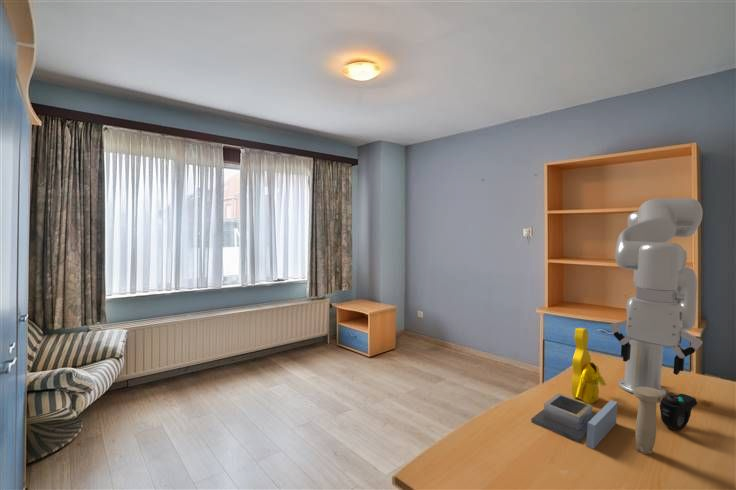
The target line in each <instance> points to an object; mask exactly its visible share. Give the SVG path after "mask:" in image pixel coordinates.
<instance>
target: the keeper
mask: <svg viewBox="0 0 736 490" xmlns="http://www.w3.org/2000/svg"><path fill="white" fill-rule="evenodd" d="M593 406H594V405H593V404H588V403H586V402H584V401H582V400H580V399H577V398H575V397H571V396H568V395H564V394H562V393H557V394H556V395H554V396H552V397H551V398H550V399H548V400H547V401H546V402H545V403H544V404H543V409H542V410H540V411H539V412H538V413H537V414H536V415H534V416H533V417H532V418H530V419H531V420H530V421H531V423H533V424H535V425H537V426H540V427H542V428H543V429H546V430H549V431H551V432H553V433H556V434H558V435H561V436H562V437H565V438H567V439H570V440H572V441H575V442H577V443H580V442H581V441H582V440H583V439H584V438H585V437H587V426H588V422H589V421H590V420H591V419H592V418H593V417H594V416H595V415H596V414H597V413H598V412H596V411H593Z"/></svg>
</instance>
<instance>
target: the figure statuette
mask: <svg viewBox="0 0 736 490" xmlns="http://www.w3.org/2000/svg"><path fill="white" fill-rule="evenodd" d="M574 343H575V351H574V354H573V357H572V371H573V373H572V380H571V395H572V398H574V399H576V400H579V401H582V402H585V403H588V404H590V405H593V404H594V403H596V402H598V400H599V393H600V392H599V391H600V389H599V385H600V386H601V387H604V386H606V385H607V383H606V381H605V380H604V378H603V376H601V373H600V371H599V370H600V368H599V366H597V365H596V364H595V363H594V362H592V360H591V355H590V354H589V353H590V352H589V351H588V343H589V333H588V329H587V328H584V327H576V328H575V330H574Z"/></svg>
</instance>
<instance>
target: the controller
mask: <svg viewBox="0 0 736 490" xmlns="http://www.w3.org/2000/svg"><path fill="white" fill-rule="evenodd" d="M666 395H667V396H665V397H663V399H662V400H661V402H659V410H660V419H661V422H662V423H663V424H664V425H665V426H666V427H667V428H670V429H673V430H675V431H681V430H683V429H684V428H685V427H686V426H687V424H688V423H689V421H690V417H691V414H692V409H693V408H694V407H695V406H697V405H698V401H697V399H696V398H695V397H693V396H690V395H689V394H684V393H681V394H679V393H678V394H676V393H673V392H666Z"/></svg>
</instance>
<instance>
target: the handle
mask: <svg viewBox="0 0 736 490" xmlns="http://www.w3.org/2000/svg"><path fill="white" fill-rule="evenodd" d="M633 395H634V397H635V398H637V399H639V400H638V408H637V417H636V422H635V442H636V450H637V451H638V452H641V453H642V454H644V455H652V454H653V451H654V450H653V448H654V447H655V443H656V437H657V405H658V403H659V404H660V402H661V400H662V399H664V397H663V392H661V391H660V390H657V389H654V388H651V387H636V388H635V389H634V394H633Z"/></svg>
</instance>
